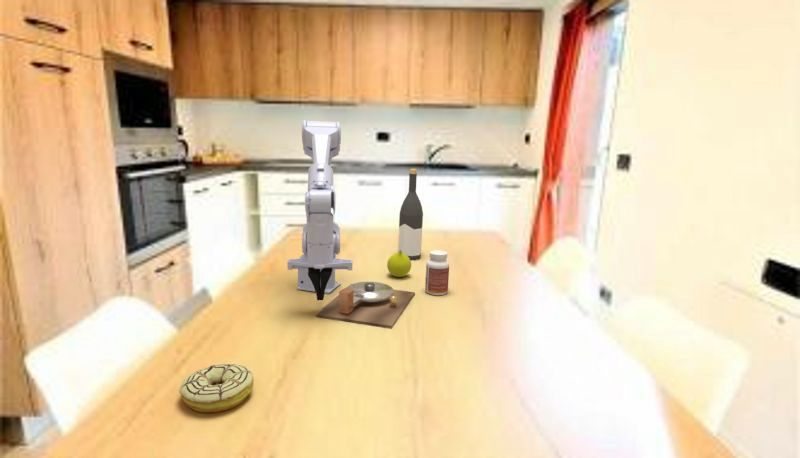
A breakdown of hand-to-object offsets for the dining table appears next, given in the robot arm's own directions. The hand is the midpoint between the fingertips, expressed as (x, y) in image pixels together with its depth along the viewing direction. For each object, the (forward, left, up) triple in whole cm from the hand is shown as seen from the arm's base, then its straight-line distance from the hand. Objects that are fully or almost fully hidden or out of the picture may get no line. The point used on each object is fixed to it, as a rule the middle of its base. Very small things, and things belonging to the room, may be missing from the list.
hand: (320, 298), depth 104 cm
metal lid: (+8, +8, -2) cm, 12 cm away
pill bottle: (+23, +23, -4) cm, 33 cm away
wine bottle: (+8, +53, -4) cm, 54 cm away
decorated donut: (-1, -36, -4) cm, 36 cm away
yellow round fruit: (+10, +32, -4) cm, 34 cm away
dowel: (+15, +8, -3) cm, 18 cm away
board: (+9, +8, -3) cm, 13 cm away
